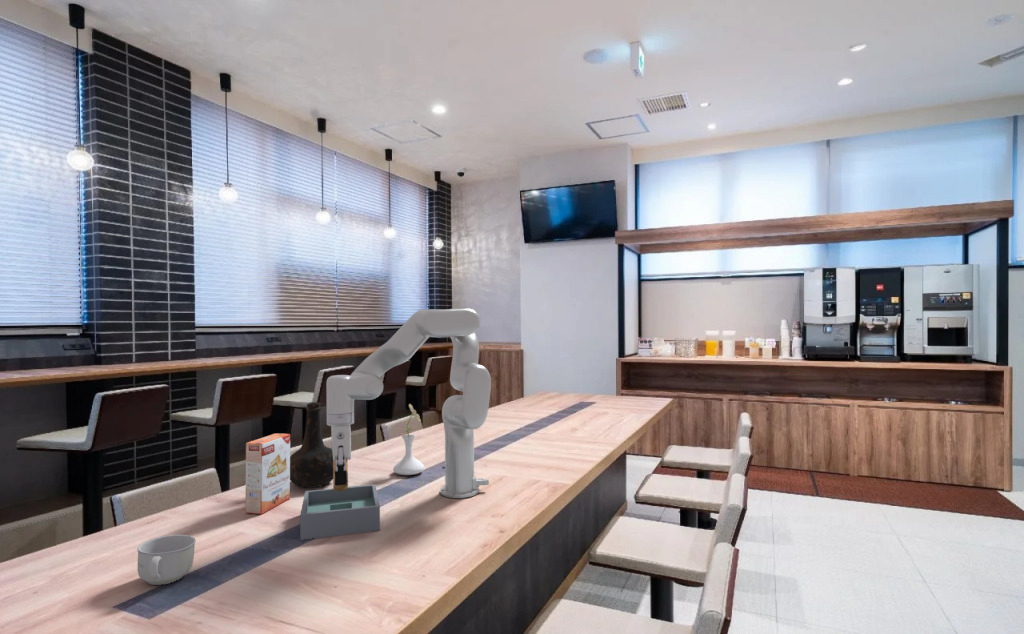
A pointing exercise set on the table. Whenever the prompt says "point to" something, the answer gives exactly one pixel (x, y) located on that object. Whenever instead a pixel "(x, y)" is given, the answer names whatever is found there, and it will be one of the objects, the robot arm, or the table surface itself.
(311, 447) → the dark brown vase
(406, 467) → the flower in vase
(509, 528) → the table surface
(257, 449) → the cracker box
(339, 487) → the peg
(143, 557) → the teacup
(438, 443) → the table surface
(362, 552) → the table surface
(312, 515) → the bore box
